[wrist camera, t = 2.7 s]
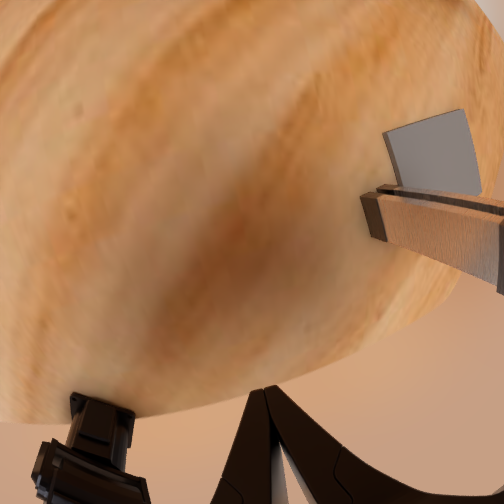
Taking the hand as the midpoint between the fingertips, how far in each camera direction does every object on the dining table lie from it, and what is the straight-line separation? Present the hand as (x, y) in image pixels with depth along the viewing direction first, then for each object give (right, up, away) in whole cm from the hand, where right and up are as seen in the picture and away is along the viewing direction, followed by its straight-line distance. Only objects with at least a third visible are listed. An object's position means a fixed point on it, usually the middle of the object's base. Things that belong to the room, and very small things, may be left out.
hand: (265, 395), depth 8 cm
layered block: (+10, +8, +12) cm, 18 cm away
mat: (+18, +13, +13) cm, 26 cm away
